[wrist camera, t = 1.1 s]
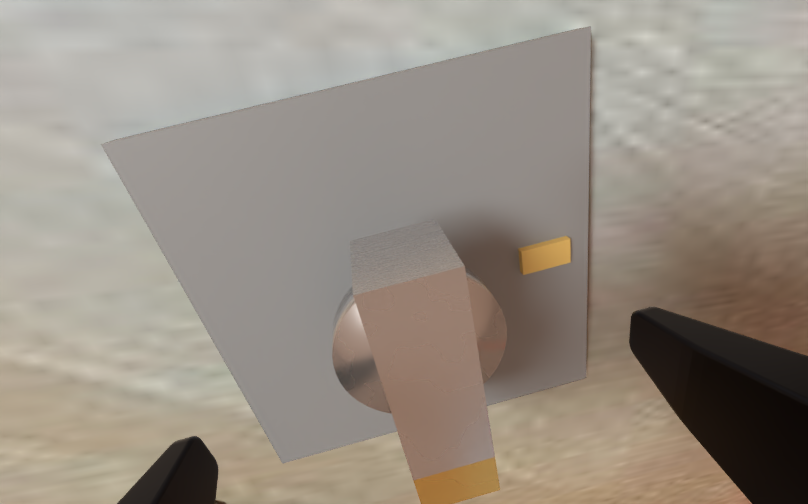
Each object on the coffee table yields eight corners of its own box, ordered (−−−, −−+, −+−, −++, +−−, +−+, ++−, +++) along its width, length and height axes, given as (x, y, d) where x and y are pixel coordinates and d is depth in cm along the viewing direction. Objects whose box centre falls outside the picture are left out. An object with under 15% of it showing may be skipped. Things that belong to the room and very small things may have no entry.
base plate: (577, 367, 26) (589, 382, 24) (284, 449, 25) (281, 469, 23) (577, 28, 16) (597, 25, 15) (114, 140, 16) (94, 146, 14)
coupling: (503, 380, 19) (552, 474, 15) (362, 420, 19) (369, 527, 14) (480, 191, 14) (540, 245, 10) (293, 239, 14) (272, 316, 10)
